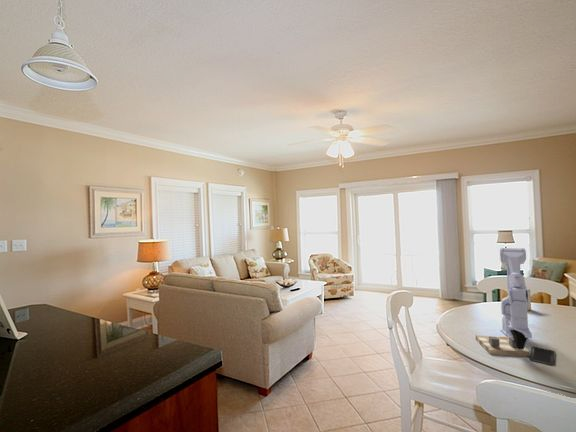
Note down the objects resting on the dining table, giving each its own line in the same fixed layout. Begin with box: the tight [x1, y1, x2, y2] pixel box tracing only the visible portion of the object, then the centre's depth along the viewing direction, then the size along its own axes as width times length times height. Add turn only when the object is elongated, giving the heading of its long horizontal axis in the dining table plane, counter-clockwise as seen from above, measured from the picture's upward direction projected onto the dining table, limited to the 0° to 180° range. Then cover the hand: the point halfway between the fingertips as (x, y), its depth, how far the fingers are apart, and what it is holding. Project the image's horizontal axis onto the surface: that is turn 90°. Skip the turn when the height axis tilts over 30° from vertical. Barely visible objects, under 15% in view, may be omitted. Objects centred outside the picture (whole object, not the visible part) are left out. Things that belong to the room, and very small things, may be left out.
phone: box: [528, 346, 556, 366], centre depth 127 cm, size 8×1×15 cm
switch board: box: [475, 334, 531, 357], centre depth 137 cm, size 16×15×2 cm
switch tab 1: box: [488, 335, 500, 346], centre depth 135 cm, size 3×3×3 cm
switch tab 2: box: [509, 337, 516, 347], centre depth 133 cm, size 3×3×3 cm
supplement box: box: [526, 287, 532, 312], centre depth 190 cm, size 8×5×13 cm, turn 30°
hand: (520, 348), depth 129 cm, fingers closed
